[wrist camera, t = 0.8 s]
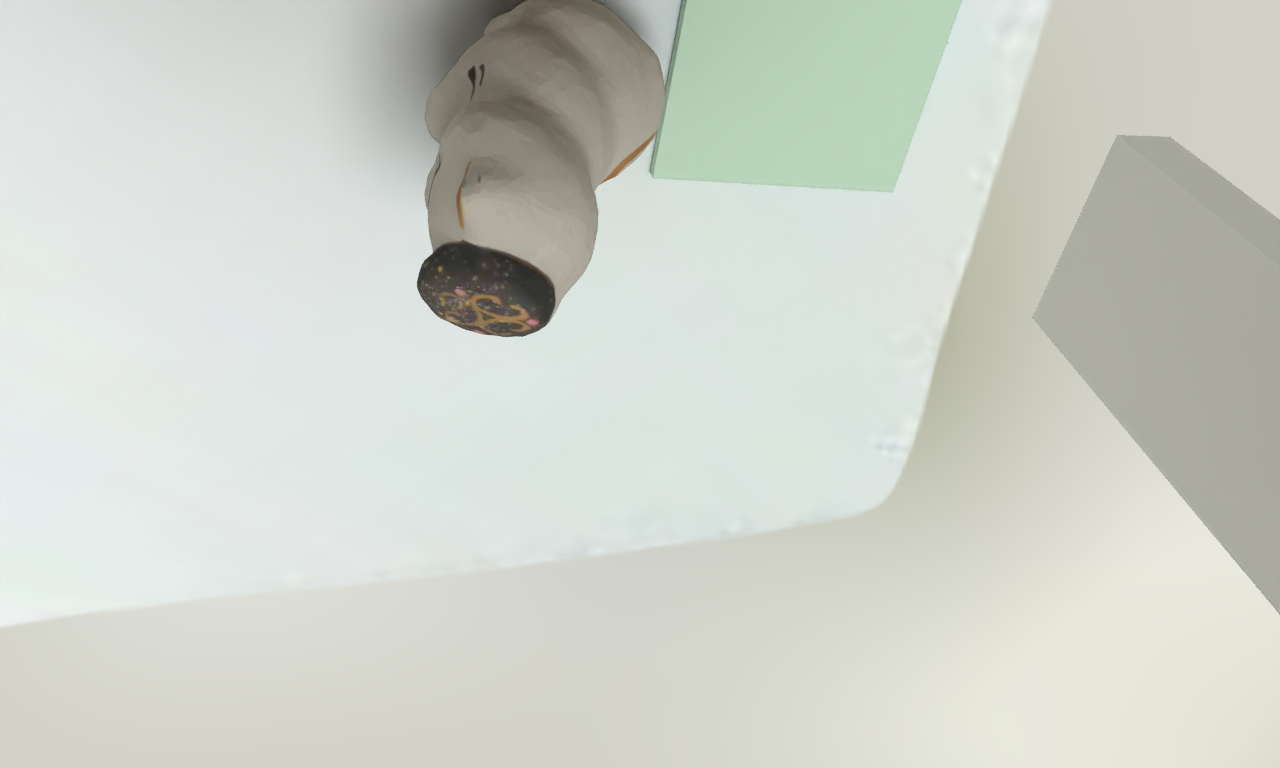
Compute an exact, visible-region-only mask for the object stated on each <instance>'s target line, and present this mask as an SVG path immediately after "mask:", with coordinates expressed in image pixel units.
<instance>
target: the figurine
mask: <svg viewBox="0 0 1280 768" xmlns="http://www.w3.org/2000/svg"><path fill="white" fill-rule="evenodd" d="M664 102H665V88H664V81H663V75H662V70H661V66H660V62H659V59H658V57H657V56H656V54H655V53H654V51H653V50H652V49H651V48H650V47H649V46H648V45H647V44H646V43H645V42H644V41H643V40H642V39H641V38H640V37H639V36H638V35H637V34H636V33H635V32H634V31H633V30H632V29H631V28H629V27H628V26H627V25H626V24H625V23H624V22H623V21H622V20H621V19H620V17H618V16H617V15H616V14H614V13H613V12H612V11H610V10H609V9H608V8H606V7H605V6H604V5H602V4H600V3H597V2H595V1H592V0H527V1H525V2H523V3H521V4H519V5H517V6H516V7H515V8H514V9H513V10H512V11H509V12H506V13H504V14H501V15H499V16H497V17H495V18H493V19H492V20H491V21H490V22H489V23H488V25H487V27H486V28H485V30H484V36H483V37H482V38H481V39H479V40H478V41H477V42H475V43H474V44H473V45H472V46H470V47H469V48H468V49H467V50H466V51H465V52H464V53H463V54H462V56H461V57H460V59H459V60H458V61H457V63H456V64H455V65H454V67H453V68H452V69H451V70H450V71H449V72H448V73H447V74H446V76H445V77H444V78H443V80H442V81H441V82H440V83H439V84H438V85H437V86H436V87H435V88H434V89H433V91H432V93H431V95H430V97H429V99H428V101H427V107H426V114H425V120H426V125H427V128H428V130H429V133H430V134H431V136H432V137H433V138H434V139H435V140H436V141H437V142H438V143H440V149H439V152H438V155H437V158H436V161H435V164H434V166H433V168H432V169H431V171H430V172H429V175H428V179H427V185H426V190H425V201H426V206H427V209H428V224H429V234H430V239H431V243H432V247H433V254H432V255H430V256H429V257H428V258H427V259H426V260H425V261H424V263H423V264H422V266H421V269H420V272H419V276H418V281H417V288H418V291H419V293H420V295H421V298H422V299H423V300H424V301H425V302H426V303H427V305H428V306H429V307H430V308H431V310H432V311H433V312H434V313H435V314H436V315H437V316H438V317H440V318H441V319H444V320H446V321H448V322H450V323H452V324H454V325H456V326H458V327H461V328H463V329H465V330H469V331H473V332H476V333H480V334H485V335H497V336H502V337H513V336H521V337H522V336H526V335H528V334H532V333H534V332H537V331H539V330H540V329H541V328H543V327H545V326H546V325H547V324H548V323H549V322H550V320H551V319H552V317H553V316H554V314H555V312H556V310H557V308H558V306H559V304H560V302H561V300H562V298H563V297H564V296H565V294H566V293H567V292H568V291H569V290H570V288H571V287H572V286H573V285H574V284H575V283H576V281H577V280H578V279H579V278H580V277H581V276H582V274H583V273H584V271H585V270H586V268H587V266H588V264H589V262H590V260H591V257H592V254H593V250H594V245H595V240H596V235H597V228H598V208H597V202H596V196H595V193H594V191H595V190H596V188H597V187H598V185H600V184H602V183H603V182H605V181H607V180H609V179H611V178H613V177H616V176H617V175H619V174H620V173H621V172H622V171H623V170H624V169H625V168H626V167H628V166H629V165H630V164H631V163H633V162H634V161H635V160H636V159H637V158H638V157H639V156H640V155H641V154H642V152H643V151H644V150H645V149H646V147H647V146H648V145H649V144H650V142H651V141H652V140H653V138H654V137H655V135H656V133H657V131H658V128H659V125H660V120H661V115H662V112H663V108H664Z"/></svg>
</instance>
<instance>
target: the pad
mask: <svg viewBox="0 0 1280 768" xmlns="http://www.w3.org/2000/svg"><path fill="white" fill-rule="evenodd" d="M961 2H962V0H683V1H682V6H681V11H680V17H679V22H678V27H677V32H676V38H675V43H674V48H673V54H672V59H671V64H670V69H669V75H668V80H667V85H666V90H665V102H664V108H663V112H662V115H661V120H660V125H659V128H658V133H657V138H656V143H655V148H654V154H653V159H652V164H651V170H650V173H651V175H652V177H653V178H660V179H677V180H693V181H710V182H727V183H743V184H760V185H776V186H793V187H810V188H826V189H843V190H860V191H876V192H893V191H894V188H895V185H896V182H897V179H898V177H899V174H900V171H901V168H902V166H903V163H904V160H905V157H906V155H907V152H908V149H909V146H910V143H911V141H912V138H913V135H914V132H915V130H916V127H917V124H918V121H919V119H920V116H921V113H922V110H923V107H924V105H925V102H926V99H927V96H928V94H929V91H930V88H931V85H932V83H933V80H934V77H935V74H936V71H937V69H938V66H939V63H940V60H941V58H942V55H943V52H944V49H945V47H946V44H947V41H948V38H949V35H950V33H951V30H952V27H953V24H954V22H955V19H956V16H957V13H958V11H959V8H960V5H961Z"/></svg>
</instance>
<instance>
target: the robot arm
mask: <svg viewBox="0 0 1280 768" xmlns="http://www.w3.org/2000/svg"><path fill="white" fill-rule="evenodd" d="M1032 318H1033V319H1034V321H1035V322H1036V323H1037V324H1038V325H1039V326H1040V328H1041V329H1042V330H1043V331H1044V332H1045V334H1046V335H1047V336H1048V337H1049V339H1050V340H1051V341H1052V342H1053V343H1054V345H1055V346H1056V347H1057V348H1058V349H1059V350H1060V352H1061V353H1062V354H1063V355H1064V357H1065V358H1066V359H1067V360H1068V361H1069V362H1070V364H1071V365H1072V366H1073V367H1074V369H1075V370H1076V371H1077V372H1078V373H1079V375H1080V376H1081V377H1082V378H1083V379H1084V381H1085V382H1086V383H1087V384H1088V385H1089V386H1090V388H1091V389H1092V390H1093V391H1094V392H1095V393H1096V395H1097V396H1098V397H1099V398H1100V400H1101V401H1102V402H1103V403H1104V404H1105V406H1106V407H1107V408H1108V409H1109V410H1110V412H1111V413H1112V414H1113V415H1114V416H1115V418H1116V419H1117V420H1118V421H1119V422H1120V424H1121V425H1122V426H1123V427H1124V428H1125V430H1126V431H1127V432H1128V433H1129V434H1130V436H1131V437H1132V438H1133V439H1134V440H1135V442H1136V443H1137V444H1138V445H1139V446H1140V447H1141V448H1142V450H1143V451H1144V452H1145V454H1146V455H1147V456H1148V457H1149V458H1150V460H1151V461H1152V462H1153V463H1154V464H1155V466H1156V467H1157V468H1158V469H1159V470H1160V472H1161V473H1162V474H1163V475H1164V476H1165V477H1166V479H1167V480H1168V481H1169V482H1170V484H1171V485H1172V486H1173V487H1174V488H1175V489H1176V491H1177V492H1178V493H1179V494H1180V496H1181V497H1182V498H1183V499H1184V500H1185V501H1186V503H1187V504H1188V505H1189V506H1190V507H1191V509H1192V510H1193V511H1194V512H1195V513H1196V515H1197V516H1198V517H1199V518H1200V519H1201V521H1202V522H1203V523H1204V524H1205V525H1206V527H1207V528H1208V529H1209V530H1210V531H1211V533H1212V534H1213V535H1214V536H1215V537H1216V538H1217V540H1218V541H1219V542H1220V543H1221V545H1222V546H1223V547H1224V548H1225V549H1226V551H1227V552H1228V553H1229V554H1230V555H1231V557H1232V558H1233V559H1234V560H1235V561H1236V562H1237V564H1238V565H1239V566H1240V567H1241V569H1242V570H1243V571H1244V572H1245V573H1246V574H1247V576H1248V577H1249V578H1250V579H1251V581H1252V582H1253V583H1254V584H1255V585H1256V587H1257V588H1258V589H1259V590H1260V591H1261V592H1262V594H1263V595H1264V596H1265V597H1266V599H1267V600H1268V601H1269V602H1270V603H1271V605H1272V606H1273V607H1274V608H1275V609H1276V611H1277V612H1278V613H1279V614H1280V220H1279V219H1278V218H1277V217H1275V216H1274V215H1273V214H1271V213H1270V212H1269V211H1267V210H1266V209H1265V208H1263V207H1262V206H1261V205H1259V204H1258V203H1257V202H1255V201H1254V200H1253V199H1251V198H1250V197H1249V196H1247V195H1246V194H1245V193H1244V192H1242V191H1241V190H1240V189H1238V188H1237V187H1236V186H1234V185H1233V184H1232V183H1230V182H1229V181H1228V180H1226V179H1225V178H1224V177H1222V176H1221V175H1220V174H1218V173H1217V172H1216V171H1215V170H1213V169H1212V168H1210V167H1209V166H1208V165H1207V164H1205V163H1204V162H1202V161H1201V160H1200V159H1198V158H1197V157H1196V156H1195V155H1193V154H1192V153H1190V152H1189V151H1188V150H1187V149H1185V148H1184V147H1183V146H1181V145H1180V144H1179V143H1177V142H1176V141H1175V140H1174V139H1172V138H1171V137H1157V136H1125V135H1117V136H1116V138H1115V141H1114V143H1113V145H1112V147H1111V149H1110V151H1109V153H1108V156H1107V158H1106V160H1105V162H1104V164H1103V166H1102V169H1101V171H1100V173H1099V175H1098V177H1097V180H1096V181H1095V184H1094V186H1093V188H1092V190H1091V192H1090V194H1089V197H1088V199H1087V201H1086V203H1085V205H1084V207H1083V209H1082V212H1081V214H1080V216H1079V218H1078V220H1077V222H1076V224H1075V227H1074V229H1073V231H1072V233H1071V236H1070V237H1069V240H1068V242H1067V244H1066V246H1065V248H1064V250H1063V252H1062V255H1061V257H1060V259H1059V261H1058V263H1057V265H1056V268H1055V270H1054V272H1053V274H1052V276H1051V278H1050V280H1049V283H1048V285H1047V287H1046V289H1045V291H1044V293H1043V296H1042V298H1041V300H1040V302H1039V304H1038V307H1037V308H1036V311H1035V313H1034V315H1033V317H1032Z"/></svg>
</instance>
